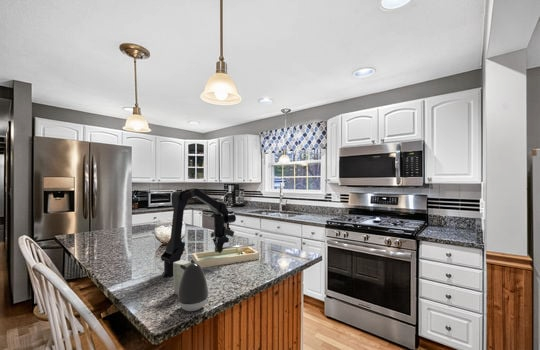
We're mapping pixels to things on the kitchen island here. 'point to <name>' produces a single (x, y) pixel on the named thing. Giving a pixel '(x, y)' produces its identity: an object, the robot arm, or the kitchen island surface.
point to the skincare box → (178, 273)
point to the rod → (235, 247)
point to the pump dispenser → (192, 288)
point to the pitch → (224, 257)
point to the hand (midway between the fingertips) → (219, 252)
